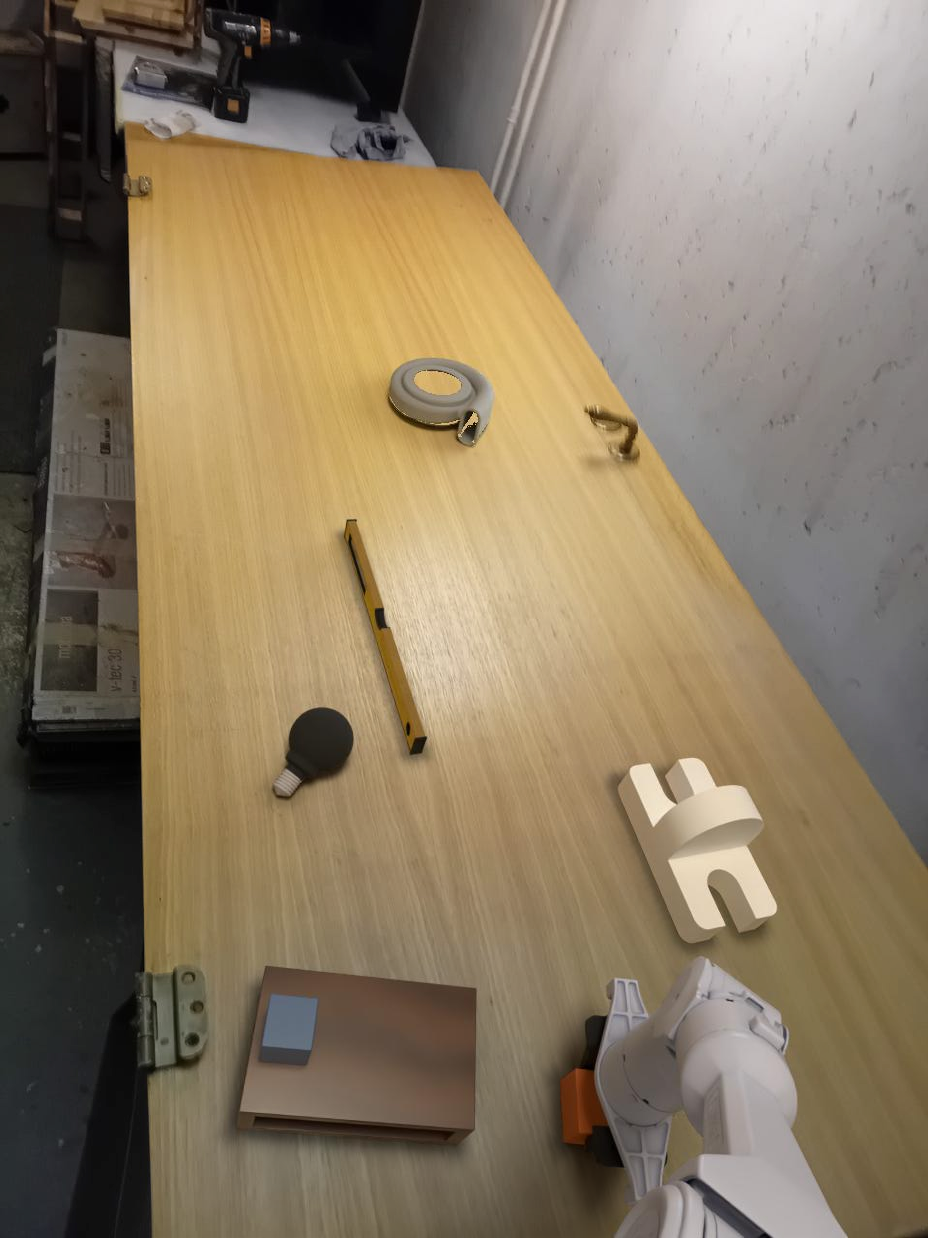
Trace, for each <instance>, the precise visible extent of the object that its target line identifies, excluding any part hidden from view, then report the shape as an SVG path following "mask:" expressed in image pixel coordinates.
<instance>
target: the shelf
mask: <svg viewBox="0 0 928 1238" xmlns="http://www.w3.org/2000/svg"><path fill="white" fill-rule="evenodd" d="M261 981H262V982H261V987H260V993H259V998H258V1002H257V1003H258V1004H257V1010H256V1015H255V1020H254V1026H253V1031H252V1036H251V1042H250V1048H249V1052H248V1059H247V1064H246V1068H245V1069H246V1070H245V1075H244V1080H243V1085H242V1090H241V1097H240V1101H239V1107H238V1113H237V1120H236V1130H240V1131H256V1132H266V1133H267V1132H269V1133H281V1134H293V1135H294V1134H295V1135H308V1136H319V1137H320V1136H321V1137H334V1138H345V1139H346V1138H347V1139H349V1138H350V1139H360V1140H362V1139H363V1140H374V1141H389V1142H402V1143H412V1144H413V1143H415V1144H416V1143H417V1144H428V1145H442V1146H455V1147H456V1146H458V1145H459V1144H460V1143H462V1141H464V1140H465V1139H466V1138H467V1137H468V1136H469V1135H471V1134H472V1133H473V1132H474V1131H475V1130H476V1073H477V1072H476V1070H477V1069H476V1067H477V1065H476V1064H477V1063H476V1062H477V1061H476V1060H477V1056H476V1055H477V987H472V986H461V985H451V984H443V983H433V982H422V981H414V980H405V979H395V978H386V977H377V976H366V975H359V974H347V973H340V972H339V973H337V972H328V971H319V970H311V969H301V968H290V967H282V966H271V965H265V966H264V971H263V978H262V980H261ZM270 994H278V995H288V996H298V997H308V998H318V999H319V1002H318V1009H317V1016H316V1024H315V1031H314V1038H313V1046H312V1051H311V1054H310V1057H309V1060H308V1063H307V1065H296V1064H284V1063H273V1062H262V1061H259V1055H260V1049H261V1044H262V1038H263V1032H264V1027H265V1021H266V1015H267V1010H268V1004H269V998H270Z"/></svg>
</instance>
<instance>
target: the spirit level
mask: <svg viewBox="0 0 928 1238" xmlns="http://www.w3.org/2000/svg"><path fill="white" fill-rule="evenodd" d="M343 538H344V539H345V541H346V544H347V548H348V550H349V554H350V557H351V560H352V564H353V567H354V571H355V573H356V577H357V581H358V583H359V584H358V585H359V586H360V590H361V593H362V597H363V600H364V604H365V607H366V609H367V613H368V616H369V619H370V620H369V621H370V623H371V626H372V629H373V633H374V637H375V640H376V643H377V645H378V649H379V652H380V655H381V659H382V661H383V665H384V668H385V671H386V676H387V678H388V681H389V685H390V689H391V691H392V695H393V698H394V701H395V705H396V708H397V711H398V715H399V718H400V721H401V724H402V728H403V730H404V734H405V739H406V741H407V744H408V748H409V750H410V751H409V755H416V754H417V755H418V754H422V753H423V751H424V749H425V745H426V743H427V740H428V736H427V735H426V733H425V731H424V727H423V725H422V722H421V719H420V715H419V712H418V710H417V706H416V703H415V700H414V695H413V693H412V691H411V687H410V684H409V682H408V678H407V675H406V672H405V669H404V665H403V662H402V660H401V656H400V653H399V651H398V647H397V644H396V641H395V637H394V635H393V634H394V633H393V631H392V629H391V626H388V625H387V622H386V616H385V607H384V603H383V600H382V597H381V594H380V592H379V588H378V585H377V582H376V578H375V576H374V573H373V569H372V566H371V563H370V560H369V558H368V553H367V551H366V548H365V544H364V541H363V538H362V535H361V532H360V529H359V526H358V519H357V518H353V519H352V518H351V519H350V518H349V519H346V521H345V527H344V533H343Z"/></svg>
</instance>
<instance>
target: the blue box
mask: <svg viewBox="0 0 928 1238" xmlns="http://www.w3.org/2000/svg"><path fill="white" fill-rule="evenodd" d="M318 1002H319V999H318V998H308V997H298V996H288V995H278V994H270V998H269V1004H268V1010H267V1015H266V1021H265V1027H264V1032H263V1038H262V1044H261V1049H260V1055H259V1061H262V1062H273V1063H284V1064H296V1065H307V1063H308V1060H309V1057H310V1054H311V1051H312V1046H313V1038H314V1031H315V1024H316V1016H317V1009H318Z"/></svg>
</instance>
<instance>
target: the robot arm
mask: <svg viewBox="0 0 928 1238" xmlns="http://www.w3.org/2000/svg"><path fill="white" fill-rule="evenodd" d="M605 991H606V997H607V999H608V1000H610V1003H609V1008H608V1011H607V1014H606V1015H598V1014H593V1015H590V1016H589V1017H588V1018H587V1019H586V1020H585V1021H584V1032H585V1042H586V1043H585V1047H584V1051H583V1054H582V1056H581V1057H582V1058H581V1059H580V1063H579V1069H586V1070H594V1081H595V1087H596V1091H597V1095H598V1098H599V1100H600V1103H601V1106H602V1108H603V1111H604V1114H605V1116H606V1119H607V1122H608V1124H609V1126H600V1125H593V1126H592V1132H593V1135H592V1136H591V1137H590V1138H588V1139H586V1140H585V1144H584V1151H585V1153H586V1154H593V1155H594V1160H595V1163H596V1164H598V1165H599V1166H602V1167H605V1168H615V1169H624V1170H625V1174H626V1177H627V1180H628V1184H627V1185H625V1186H624V1189H623V1190H624V1201H625V1205H626V1206H627V1205H628V1206H633V1207H632V1208H631V1209H630V1210H629V1212H628V1214H627V1215H626V1216H625V1218H624V1219H623V1221H622V1222H621V1223H620V1225H619V1226H618V1229H617V1230H616V1232H615V1233H614V1236H613V1237H612V1238H849V1237H848V1235H847V1234H846V1233H845V1231H844V1229H843V1228H842V1227H841V1225H840V1223H839V1221H838V1220H837V1218H836V1217H835V1215H834V1214H833V1212H832V1210H831V1207H830V1206H829V1204H828V1202H827V1200H826V1198H825V1196H824V1194H823V1192H822V1190H821V1188H820V1186H819V1184H818V1182H817V1180H816V1177H815V1176H814V1174H813V1172H812V1170H811V1168H810V1166H809V1164H808V1162H807V1160H806V1158H805V1156H804V1154H803V1151H802V1150H801V1147H800V1145H799V1144H798V1142H797V1140H796V1138H795V1135H794V1133H793V1131H792V1128H793V1126H794V1123H795V1121H796V1118H797V1113H798V1103H799V1101H798V1092H797V1086H796V1083H795V1080H794V1078H793V1075H792V1073H791V1070H790V1068H789V1065H788V1063H787V1060H786V1058H785V1054H786V1051H787V1048H788V1046H789V1045H788V1044H789V1039H790V1031H789V1028H788V1027H787V1026H786V1025H783V1022H782V1021H783V1016H782V1014H781V1012H780V1010H778V1009H776V1008H775V1007H774V1006H773V1005H771V1004H770V1003H768V1002H767V1001H766V1000H764V999H763V998H762V997H760V996H759V995H758V994H756V993H755V992H753V990H751V989H750V988H748V987H747V986H745V985H744V984H743V983H742V982H740V981H739V980H737V978H735V977H734V976H732V975H731V974H729V973H728V972H727V971H725V970H724V969H723V968H722V967H720V966H719V965H718V964H716V963H714V962H711V960H710V959H709V958H708V957H704V956H703V955H699V956H697V957H695V958H694V959H693V960H692V961H691V962H690V963H689V964H688V965H687V966H686V967H685V968H684V969H683V970H682V972H681V973H680V974H679V975H678V977H677V978H676V979H675V981H674V982H673V983H672V985H671V986H670V988H669V990H668V992H667V993H666V994H665V996H664V999H663V1001H662V1003H661V1005H660V1007H659V1008H657V1009H656V1010H655V1011H653V1013H651V1014H650V1015H649V1014H648V1011H647V1009H646V1007H645V1004H644V1002H643V999H642V995H641V992H640V985H639V980H637V979H632V978H631V979H629V978H621V977H613V979H611V981H610V982H608V983H606V985H605ZM681 1111H683V1112H684V1114H685V1116H686V1118H687V1120H688V1122H689V1123H690V1125H691V1126H692V1128H694V1130H695V1132H696V1133H697V1134H698V1135H699V1136H701V1138H702V1150H701V1152H702V1153H701V1154H699V1155H696V1156H694V1157H692V1158H691V1159H689V1160H688V1161H686V1162H684V1163H683V1164H682V1165H681V1166H679V1167H678V1168H677V1169H676V1170H675V1171H674V1172H673V1173H672V1174H671V1175H669V1177H668V1178H667V1179H666V1180H665V1182H664V1183H663V1176H664V1170H665V1167H666V1165H667V1164H668V1145H669V1139H670V1133H671V1129H672V1123H673V1117H674V1115H675V1114H677V1113H679V1112H681Z"/></svg>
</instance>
